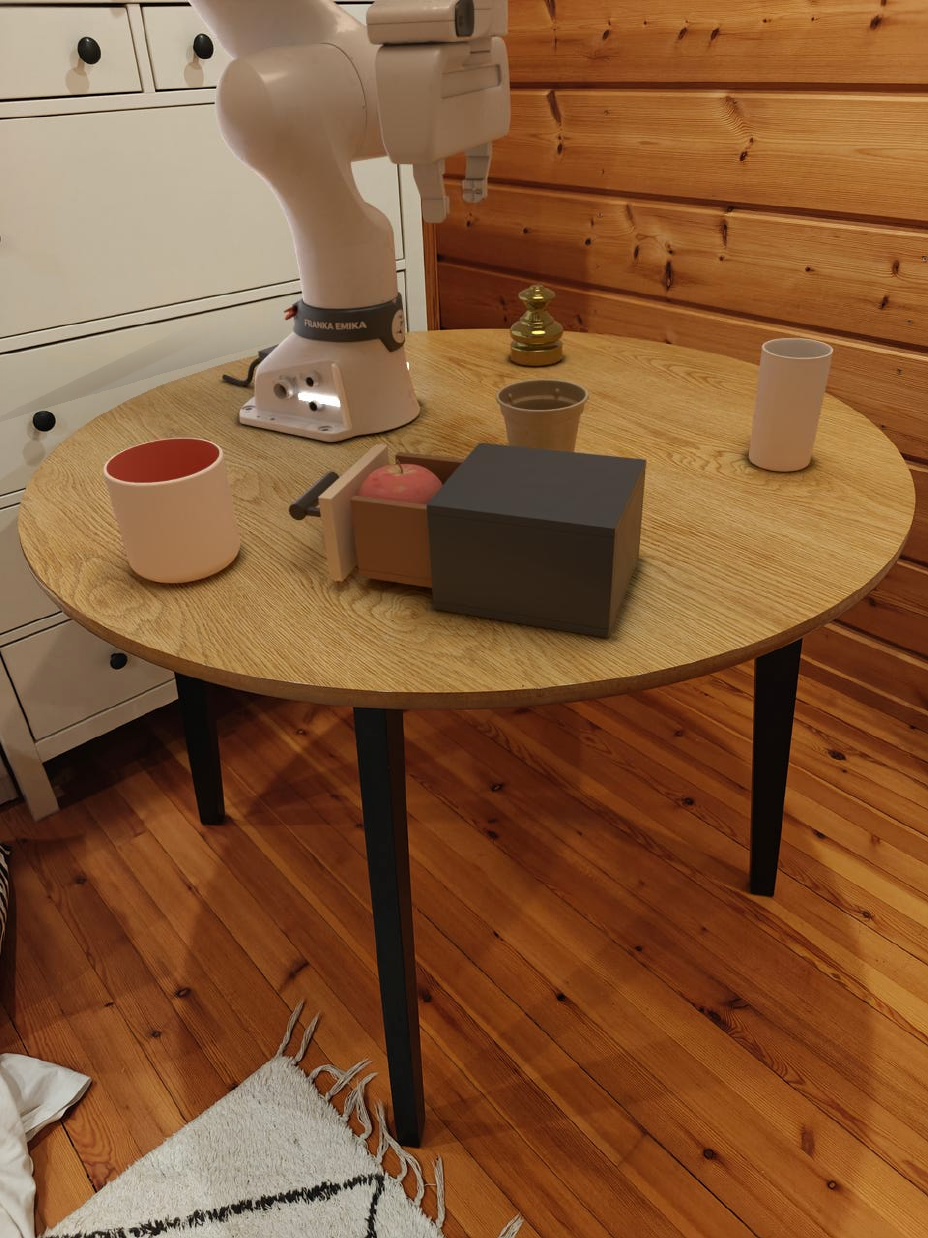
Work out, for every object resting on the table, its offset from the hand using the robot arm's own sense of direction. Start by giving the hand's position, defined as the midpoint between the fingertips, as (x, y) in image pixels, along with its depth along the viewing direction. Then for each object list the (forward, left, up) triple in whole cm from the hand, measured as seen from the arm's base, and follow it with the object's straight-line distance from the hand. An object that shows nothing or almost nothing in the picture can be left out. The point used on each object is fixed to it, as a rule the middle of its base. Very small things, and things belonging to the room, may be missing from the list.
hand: (457, 210), depth 75 cm
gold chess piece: (-6, +46, -27) cm, 54 cm away
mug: (+28, +20, -27) cm, 44 cm away
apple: (-1, -14, -25) cm, 29 cm away
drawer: (-1, -13, -26) cm, 29 cm away
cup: (-21, -18, -27) cm, 39 cm away
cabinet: (+11, -13, -27) cm, 32 cm away
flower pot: (+5, +9, -27) cm, 29 cm away
